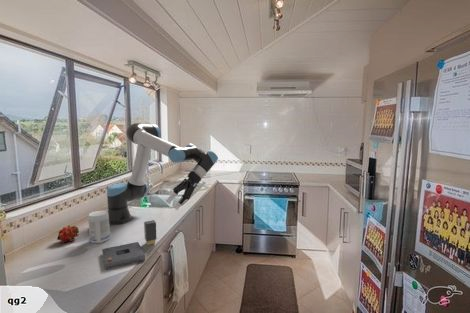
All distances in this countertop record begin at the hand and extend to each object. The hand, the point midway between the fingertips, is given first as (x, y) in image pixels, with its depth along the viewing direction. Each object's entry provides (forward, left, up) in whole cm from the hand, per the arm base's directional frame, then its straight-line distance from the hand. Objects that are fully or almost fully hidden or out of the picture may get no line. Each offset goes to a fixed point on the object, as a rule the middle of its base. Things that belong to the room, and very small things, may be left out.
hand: (170, 205), depth 139 cm
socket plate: (-18, -20, -18) cm, 33 cm away
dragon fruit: (-54, -2, -19) cm, 57 cm away
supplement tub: (-38, -1, -19) cm, 42 cm away
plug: (-10, -5, -19) cm, 22 cm away
